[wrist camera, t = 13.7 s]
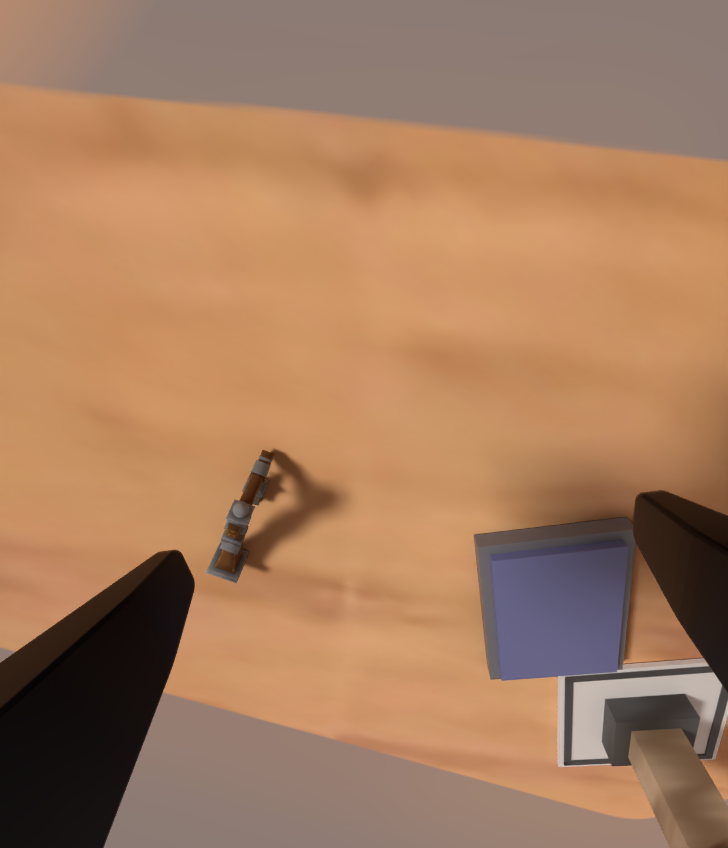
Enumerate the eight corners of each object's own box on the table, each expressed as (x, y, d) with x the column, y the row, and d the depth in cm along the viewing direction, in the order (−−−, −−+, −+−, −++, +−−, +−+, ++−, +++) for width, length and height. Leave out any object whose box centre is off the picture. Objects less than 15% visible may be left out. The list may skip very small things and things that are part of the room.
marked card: (739, 655, 26) (744, 661, 26) (712, 754, 30) (716, 761, 30) (557, 669, 27) (559, 675, 27) (557, 762, 32) (559, 768, 31)
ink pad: (626, 517, 22) (642, 535, 21) (614, 654, 26) (626, 677, 25) (473, 534, 23) (479, 553, 22) (487, 664, 27) (492, 687, 26)
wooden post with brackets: (289, 448, 20) (254, 530, 17) (264, 516, 26) (235, 586, 23) (254, 435, 20) (212, 515, 17) (237, 506, 26) (204, 576, 23)
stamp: (684, 693, 27) (814, 894, 19) (675, 737, 29) (789, 936, 21) (604, 698, 28) (697, 895, 20) (601, 741, 30) (684, 936, 22)
